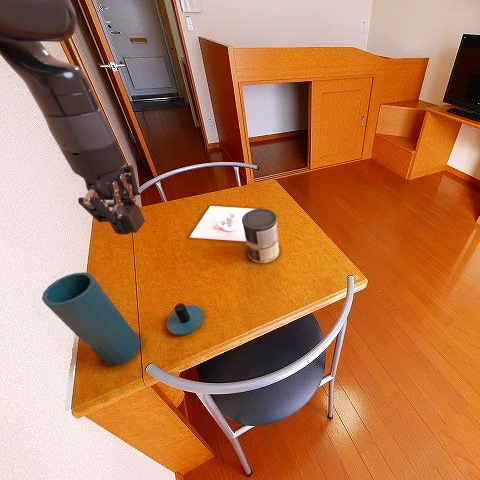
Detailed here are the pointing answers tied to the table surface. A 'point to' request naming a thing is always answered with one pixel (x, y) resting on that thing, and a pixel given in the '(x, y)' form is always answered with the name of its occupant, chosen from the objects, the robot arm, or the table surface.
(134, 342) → the tin
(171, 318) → the lid
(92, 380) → the table surface
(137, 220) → the block
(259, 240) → the coffee can
